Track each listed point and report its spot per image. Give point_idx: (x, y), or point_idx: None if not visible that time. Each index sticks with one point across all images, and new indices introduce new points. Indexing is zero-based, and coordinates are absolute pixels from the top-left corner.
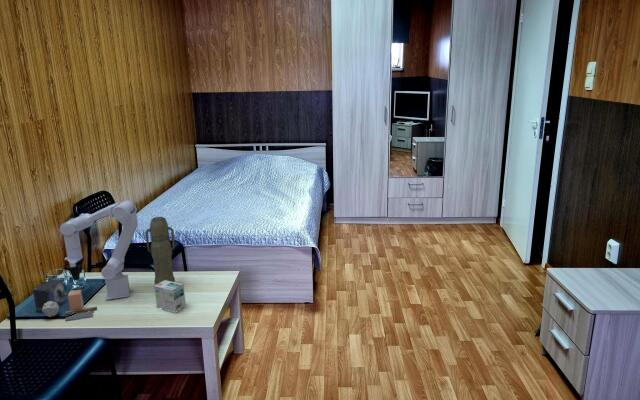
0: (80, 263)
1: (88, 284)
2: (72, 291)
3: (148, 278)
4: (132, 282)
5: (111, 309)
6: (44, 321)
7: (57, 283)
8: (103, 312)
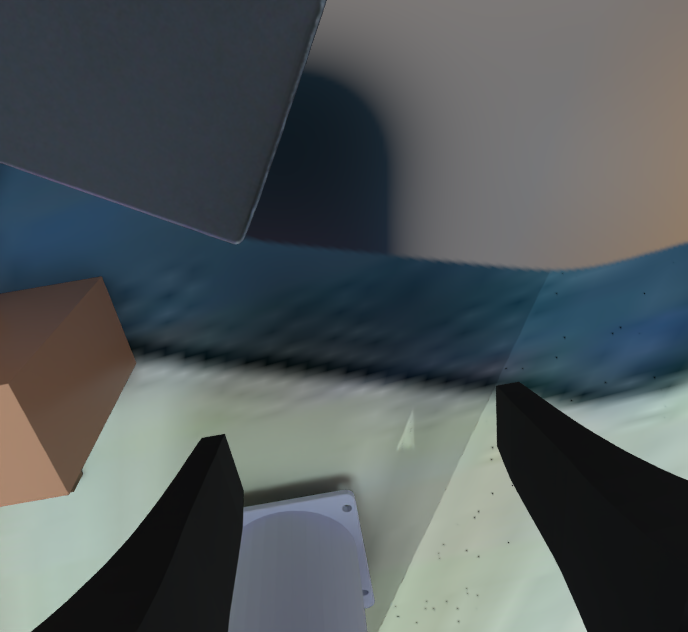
0: (588, 602)
1: (648, 254)
2: (4, 420)
3: (559, 623)
4: (530, 560)
5: (80, 556)
6: None
7: (90, 193)
8: (28, 525)
